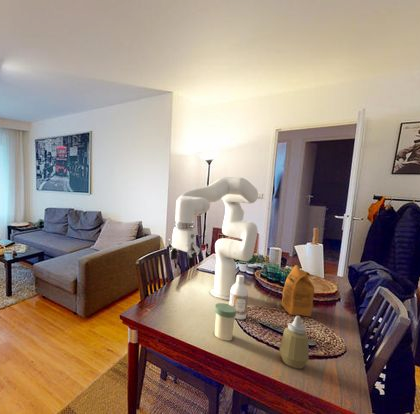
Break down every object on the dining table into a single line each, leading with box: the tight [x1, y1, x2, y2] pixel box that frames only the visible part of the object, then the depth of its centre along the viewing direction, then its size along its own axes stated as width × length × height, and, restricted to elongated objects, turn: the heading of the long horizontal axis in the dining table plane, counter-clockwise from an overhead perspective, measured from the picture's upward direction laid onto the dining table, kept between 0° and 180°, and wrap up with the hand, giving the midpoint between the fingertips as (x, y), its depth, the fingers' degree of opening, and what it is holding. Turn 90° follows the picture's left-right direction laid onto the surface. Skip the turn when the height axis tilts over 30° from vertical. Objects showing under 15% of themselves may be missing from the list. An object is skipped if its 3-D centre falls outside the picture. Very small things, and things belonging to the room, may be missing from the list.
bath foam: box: [228, 274, 249, 320], centre depth 128 cm, size 7×7×20 cm
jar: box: [214, 312, 235, 341], centre depth 113 cm, size 6×6×12 cm
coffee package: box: [281, 264, 315, 317], centre depth 132 cm, size 10×12×22 cm
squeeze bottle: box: [278, 315, 310, 369], centre depth 97 cm, size 8×8×18 cm
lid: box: [214, 302, 236, 319], centre depth 113 cm, size 8×8×2 cm
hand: (182, 262), depth 125 cm, fingers open, 9 cm apart
